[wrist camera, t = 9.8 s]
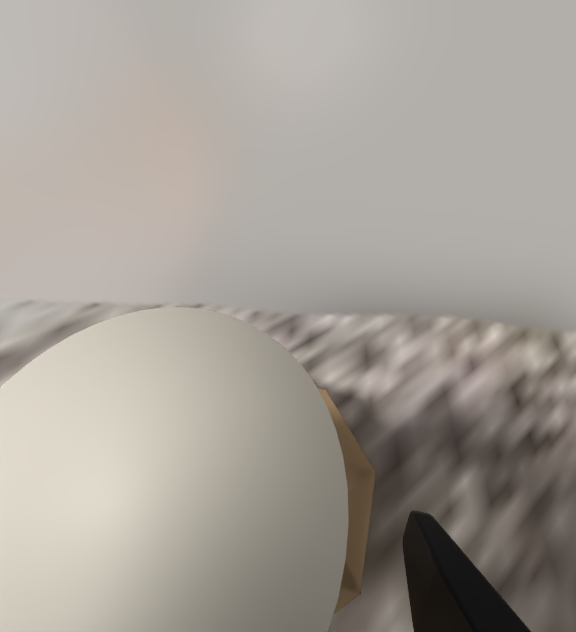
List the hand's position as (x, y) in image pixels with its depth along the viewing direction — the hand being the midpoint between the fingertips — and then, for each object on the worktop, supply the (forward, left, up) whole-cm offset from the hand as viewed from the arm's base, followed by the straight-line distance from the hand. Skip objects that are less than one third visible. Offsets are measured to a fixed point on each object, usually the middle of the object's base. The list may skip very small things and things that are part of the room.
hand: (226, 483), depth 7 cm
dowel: (0, 0, -9) cm, 9 cm away
